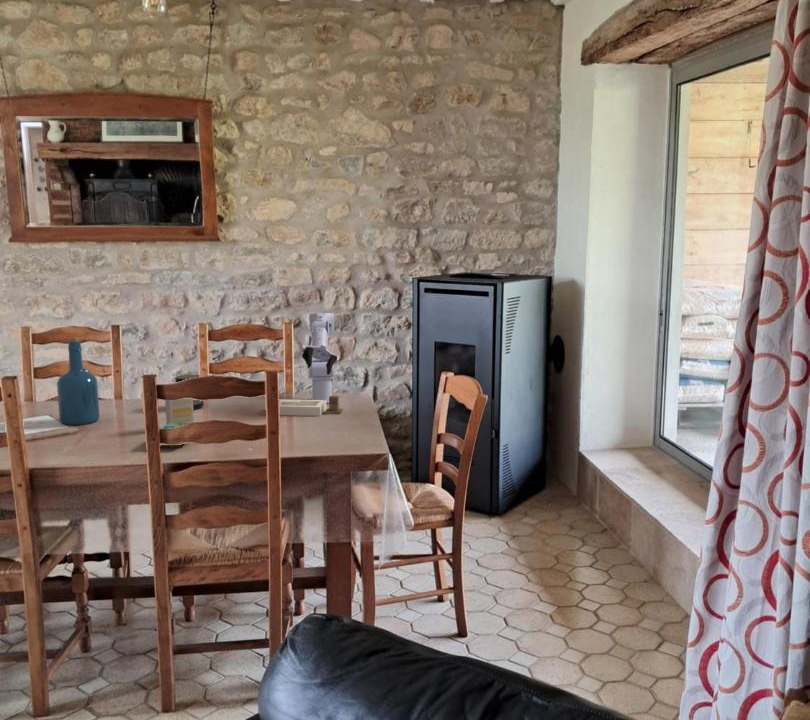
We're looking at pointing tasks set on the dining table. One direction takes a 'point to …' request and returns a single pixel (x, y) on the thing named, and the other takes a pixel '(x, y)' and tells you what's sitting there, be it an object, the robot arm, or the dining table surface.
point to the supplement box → (179, 411)
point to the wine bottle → (77, 390)
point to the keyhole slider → (334, 406)
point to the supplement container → (196, 403)
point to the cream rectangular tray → (302, 407)
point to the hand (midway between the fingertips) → (319, 369)
